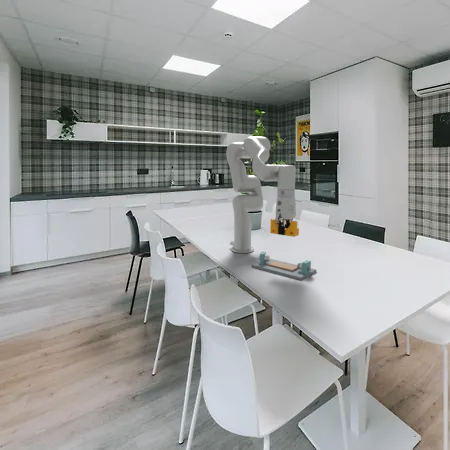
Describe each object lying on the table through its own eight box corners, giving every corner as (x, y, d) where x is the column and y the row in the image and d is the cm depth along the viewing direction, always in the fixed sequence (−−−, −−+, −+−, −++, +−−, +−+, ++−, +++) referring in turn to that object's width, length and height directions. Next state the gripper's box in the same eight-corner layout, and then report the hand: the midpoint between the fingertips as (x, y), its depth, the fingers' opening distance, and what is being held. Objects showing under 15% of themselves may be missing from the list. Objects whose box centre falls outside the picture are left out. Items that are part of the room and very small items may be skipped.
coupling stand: (251, 267, 146) (251, 254, 145) (268, 260, 156) (268, 248, 155) (300, 280, 129) (301, 266, 127) (316, 272, 139) (317, 258, 138)
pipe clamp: (298, 235, 137) (299, 220, 136) (294, 236, 134) (294, 222, 133) (275, 231, 145) (275, 218, 143) (270, 233, 141) (270, 219, 140)
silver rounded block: (297, 270, 135) (297, 263, 135) (300, 268, 138) (300, 261, 137) (306, 272, 132) (306, 265, 132) (309, 270, 135) (310, 264, 134)
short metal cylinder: (259, 261, 147) (259, 255, 147) (260, 260, 150) (260, 254, 149) (268, 262, 146) (268, 256, 145) (269, 260, 149) (269, 254, 148)
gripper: (282, 195, 127) (281, 238, 131) (303, 192, 140) (301, 232, 143) (267, 194, 132) (266, 235, 136) (288, 191, 144) (287, 229, 148)
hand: (284, 233), depth 139 cm, fingers closed on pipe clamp, 4 cm apart
